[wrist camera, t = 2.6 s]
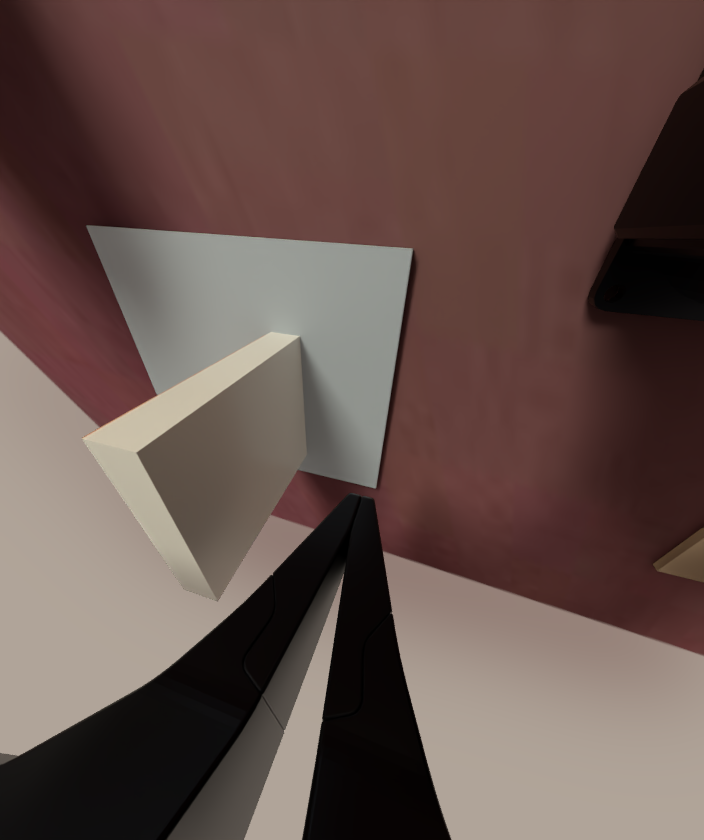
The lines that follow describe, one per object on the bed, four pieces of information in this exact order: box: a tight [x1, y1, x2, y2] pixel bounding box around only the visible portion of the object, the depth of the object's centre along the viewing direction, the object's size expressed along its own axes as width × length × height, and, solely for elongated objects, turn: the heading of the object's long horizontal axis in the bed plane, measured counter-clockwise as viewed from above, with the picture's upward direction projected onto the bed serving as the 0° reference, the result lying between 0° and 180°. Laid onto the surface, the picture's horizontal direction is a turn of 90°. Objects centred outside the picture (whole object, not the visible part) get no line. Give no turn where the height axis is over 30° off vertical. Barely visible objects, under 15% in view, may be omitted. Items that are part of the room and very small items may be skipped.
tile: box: [82, 332, 307, 601], centre depth 11 cm, size 2×7×8 cm, turn 176°
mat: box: [86, 225, 413, 488], centre depth 14 cm, size 14×12×1 cm
